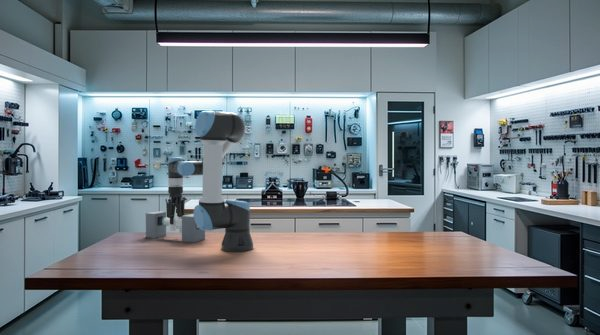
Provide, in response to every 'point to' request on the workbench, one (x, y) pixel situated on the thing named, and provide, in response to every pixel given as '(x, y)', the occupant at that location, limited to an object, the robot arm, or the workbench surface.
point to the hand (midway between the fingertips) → (175, 229)
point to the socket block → (155, 224)
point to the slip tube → (167, 222)
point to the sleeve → (191, 229)
